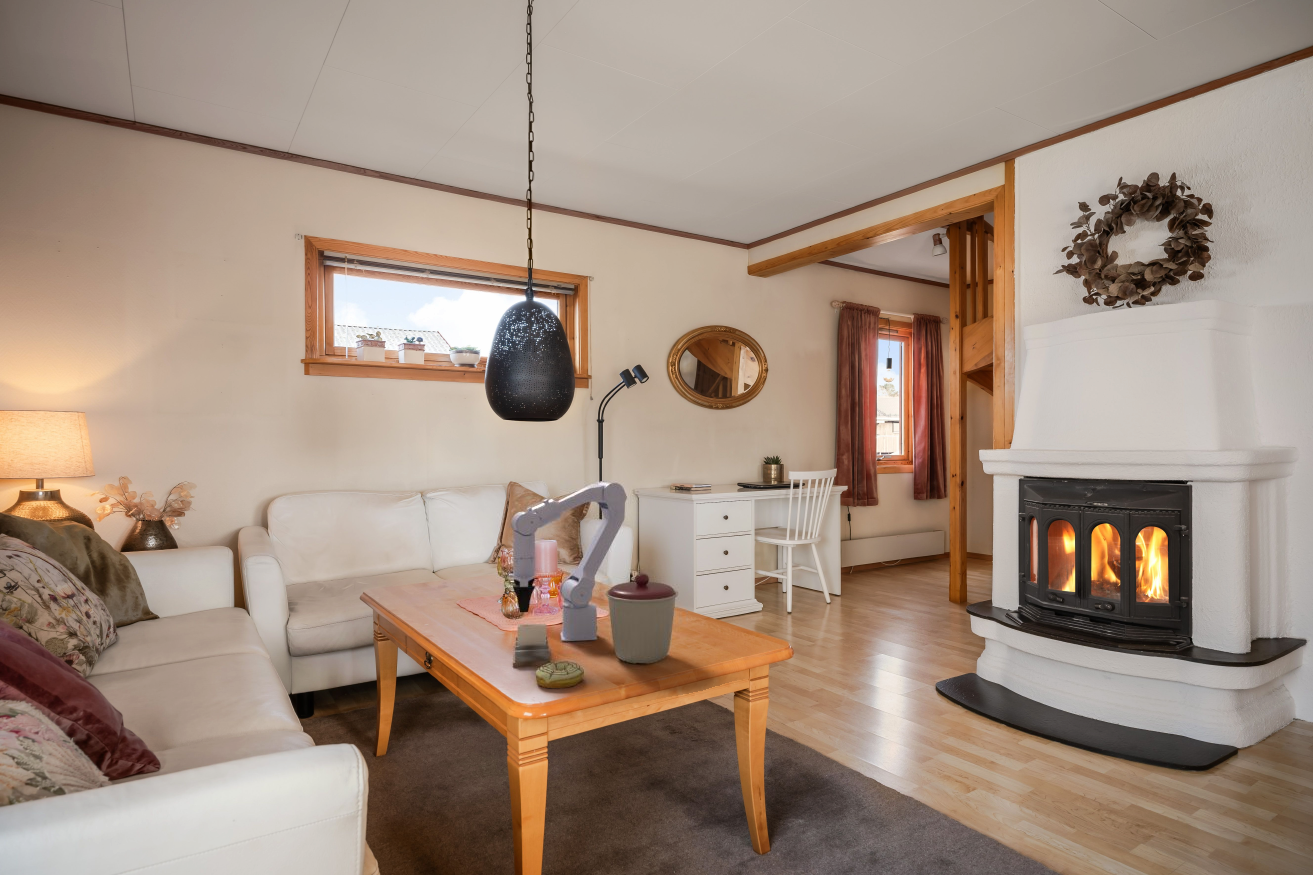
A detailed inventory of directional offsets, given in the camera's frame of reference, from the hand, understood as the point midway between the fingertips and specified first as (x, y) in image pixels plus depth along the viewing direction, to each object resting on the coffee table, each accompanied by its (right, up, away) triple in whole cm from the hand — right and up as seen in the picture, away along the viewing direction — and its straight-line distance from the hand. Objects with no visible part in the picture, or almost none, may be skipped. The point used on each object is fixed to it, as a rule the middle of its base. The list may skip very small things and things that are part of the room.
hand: (523, 608), depth 190 cm
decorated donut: (+13, -10, -29) cm, 33 cm away
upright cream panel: (+4, -8, -12) cm, 15 cm away
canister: (+32, -10, -12) cm, 35 cm away
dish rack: (+4, -9, -11) cm, 15 cm away
